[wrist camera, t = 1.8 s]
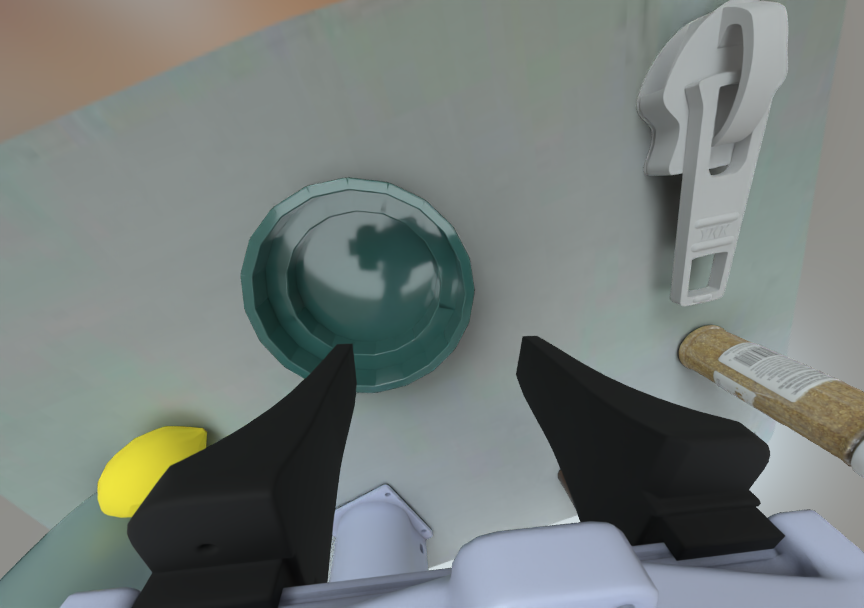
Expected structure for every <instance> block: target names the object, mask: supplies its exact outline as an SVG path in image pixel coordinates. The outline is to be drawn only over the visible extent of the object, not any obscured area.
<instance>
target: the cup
mask: <svg viewBox="0 0 864 608" xmlns="http://www.w3.org/2000/svg"><path fill="white" fill-rule="evenodd" d="M131 518H132V517H127V518H119V517H114V516H109V515H106V514H104V513H103V512H102V511H101V508H100V505H99V502H98V492H96V493H95V494H93V495H92V496H90V497H89V498H88V499H86V500H85V501H84V502H82V503H81V504H80V505H79V506H77V507H76V508H75V509H74V510H73V511H71V512H70V513H69V514H68V515H67V516H66V517H64V518H63V519H62V520H61V521H60V522H59V523H58V524H57V525H56V526H54V527H53V528H52V529H51V530H50V531H49V532H48V533H47V534H46V535H45V536H44V537H43V538H42V539H41V540H40V541H39V542H38V543H37V544H36V545H35V546H34V547H33V548H31V549H30V551H28V552H27V553H26V554H25V556H23V557H22V558H21V559H20V560H19V561H18V562H17V563H16V564H15V566H14V567H12V568H11V569H10V570H9V571H8V572H7V573H6V574H5V575H4V576H3V577H2V578H1V580H0V608H60V607H61V605H62V604H63V603H64V601H65V600H66V599H67V597H68V596H69V595H71V594H73V593H76V592H84V591H93V590H102V589H111V588H120V587H131V588H136V589H139V590H141V591H142V589H143V588H144V586H145V584H146V583H147V581H148V579H149V577H150V576H151V574H152V572H151V570H150V569H149V568H148V566H147V565H146V564H145V562H144V561H143V560H142V558H141V557H140V556H139V554H138V553H137V552H136V550H135V549H134V548H133V546H132V544H131V542H130V540H129V538H128V535H127V524H128V522H129V521H130V519H131Z"/></svg>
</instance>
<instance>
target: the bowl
mask: <svg viewBox="0 0 864 608" xmlns="http://www.w3.org/2000/svg"><path fill="white" fill-rule="evenodd" d="M241 284H242V292H243V301H244V309H245V312H246V314H247V316H248V318H249V320H250V322H251V324H252V326H253V328H254V330H255V332H256V334H257V337H258V339H259V341H260V342H261V343H262V344H263V345H264V346H265V347H266V348H267V349H268V350H269V352H270V353H271V354H272V355H273V356H274V357H275V358H276V359H277V360H278V361H279V362H280V363H281V364H282V365H283V366H284V367H285V368H287V369H289V370H290V371H292V372H294V373H296V374H297V375H299V376H301V377H302V378H304V379H305V378H306V377H307V376H308V375H309V374H310V373H311V372H312V371H313V370H314V369H315V368H316V367H317V366H318V365H319V364H320V363H321V361H322V360H323V359H324V358H325V357H326V356H327V355H328V354H329V352H330V351H331V350H332V349H333V348H334V347H335V346H336V345H337V344H353V353H354V362H355V371H356V380H357V387H356V392H357V393H376V392H377V393H378V392H382V391H386V390H390V389H394V388H398V387H402V386H406V385H409V384H410V383H412V382H414V381H416V380H418V379H419V378H421V377H423V376H425V375H427V374H429V373H430V372H432V371H433V370H435V369H436V368H437V367H438V366H439V365H440V364H441V363H442V362H443V361H444V360H445V359H446V358H447V357H448V356H449V355H450V354H451V353H452V352H453V351H454V350H455V348H456V346H457V345H458V343H459V341H460V339H461V337H462V335H463V333H464V331H465V329H466V328H467V326H468V324H469V321H470V315H471V309H472V304H473V298H474V291H475V289H474V283H473V276H472V270H471V263H470V259H469V256H468V254H467V252H466V250H465V248H464V246H463V244H462V242H461V241H460V239H459V237H458V235H457V233H456V231H455V229H454V227H453V226H452V225H451V224H450V223H449V222H448V221H447V220H446V219H445V218H444V217H443V216H442V215H441V214H440V213H439V212H438V211H437V210H435V209H434V208H433V207H432V206H431V205H430V204H429V203H428V202H427V201H426V200H424V199H423V198H421V197H419V196H417V195H414V194H412V193H410V192H408V191H406V190H404V189H402V188H400V187H398V186H396V185H394V184H391V183H389V182H382V181H374V180H366V179H358V178H350V177H348V178H341V179H337V180H332V181H327V182H323V183H318V184H313V185H309V186H307V187H304V188H302V189H301V190H299V191H298V192H296V193H295V194H293V195H291V196H290V197H288V198H287V199H285V200H284V201H282V202H280V203H279V204H277V205H276V206H274V207H273V208H272V209H271V210H270V212H269V213H268V214H267V216H266V217H265V218H264V220H263V221H262V222H261V224H260V225H259V227H258V228H257V229H256V231H255V232H254V233H253V235H252V236H251V238H250V240H249V243H248V247H247V251H246V255H245V259H244V262H243V266H242V270H241Z"/></svg>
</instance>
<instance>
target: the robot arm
mask: <svg viewBox="0 0 864 608" xmlns="http://www.w3.org/2000/svg"><path fill="white" fill-rule="evenodd" d="M516 376H517V379H518V381H519V384H520V387H521V390H522V392H523V395H524V397H525V399H526V401H527V402H528V404H529V406H530V408H531V410H532V412H533V414H534V416H535V417H536V419H537V421H538V423H539V425H540V427H541V428H542V430H543V432H544V434H545V436H546V438H547V440H548V442H549V444H550V446H551V448H552V450H553V452H554V454H555V457H556V459H557V462H558V464H559V466H560V469H561V471H562V474H563V476H564V479H565V481H566V484H567V487H568V489H569V492H570V494H571V497H572V500H573V502H574V505H575V508H576V511H577V514H578V517H579V519H580V522H579V523H571V524H560V525H552V526H542V527H533V528H524V529H515V530H505V531H497V532H493V533H489V534H486V535H482V536H478V537H476V538H475V539H473V540H471V541H470V542H468V543H467V544H465V545H463V546H462V547H461V549H460V550H459V552H458V554H457V556H456V558H455V559H454V561H453V563H452V568H446V569H438V570H429V571H428V560H427V549H426V540H427V539H429V538H431V537H432V536H433V532H432V530H431V529H430V528H429V527H428V526H427V525H426V524H425V523H424V522H423V521H422V519H421V518H420V517H419V516H418V515H417V514H416V513H415V512H414V511H413V510H412V509H411V508H410V507H409V506H408V505H407V504H406V503H405V502H404V501H403V500H402V499H401V498H400V497H399V496H398V495H397V493H396V492H395V491H394V490H393V489H392V488H391V487H390V486H388V485H382V486H380V487H378V488H376V489H375V490H373V491H371V492H369V493H367V494H365V495H363V496H361V497H359V498H357V499H355V500H353V501H352V502H350V503H348V504H346V505H344V506H342V507H340V508H338V509H336V510H335V506H336V498H337V490H338V482H339V475H340V468H341V462H342V457H343V453H344V449H345V444H346V440H347V436H348V432H349V427H350V423H351V419H352V415H353V410H354V406H355V397H356V387H357V380H356V371H355V362H354V353H353V344H337V345H336V346H335V347H334V348H333V349H332V350H331V351H330V352H329V354H328V355H327V356H326V357H325V358H324V359H323V360H322V361H321V363H320V364H319V365H318V366H317V367H316V368H315V369H314V370H313V371H312V372H311V373H310V374H309V375H308V376H307V377H306V378H305V379H304V380H303V381H302V382H301V383H300V384H299V385H298V386H297V387H296V388H295V389H294V390H293V391H291V392H290V393H289V394H288V395H287V396H286V397H284V398H283V399H282V400H281V401H279V402H278V403H277V404H275V405H274V406H273V407H272V408H270V409H269V410H267V411H266V412H264V413H263V414H261V415H260V416H259V417H257V418H256V419H254V420H253V421H251V422H250V423H248V424H247V425H245V426H244V427H242V428H240V429H239V430H237V431H235V432H234V433H232V434H230V435H229V436H227V437H225V438H223V439H222V440H220V441H218V442H216V443H215V444H213V445H211V446H209V447H207V448H205V449H203V450H201V451H199V452H197V453H195V454H193V455H191V456H189V457H187V458H185V459H183V460H181V461H179V462H177V463H175V464H173V465H171V466H169V468H168V469H167V470H166V471H165V473H164V474H163V475H162V476H161V478H160V479H159V480H158V482H157V483H156V484H155V486H154V487H153V489H152V490H151V491H150V493H149V494H148V495H147V497H146V498H145V500H144V501H143V502H142V504H141V505H140V506H139V508H138V509H137V511H136V512H135V513H134V515H133V516H132V518H131V519H130V521H129V522H128V524H127V535H128V538H129V540H130V542H131V544H132V546H133V548H134V549H135V550H136V552H137V553H138V554H139V556H140V557H141V558H142V560H143V561H144V562H145V564H146V565H147V566H148V568H149V569H150V570H151V572H152V574H151V576H150V577H149V579H148V581H147V583H146V584H145V586H144V588H143V589H142V591H141V590H139V589H136V588H131V587H120V588H111V589H102V590H93V591H84V592H76V593H73V594H71V595H69V596H68V597H67V599H66V600H65V601H64V603H63V604H62V605H61V607H60V608H864V552H863V551H862V550H861V549H859V548H858V547H857V546H856V545H854V544H853V543H852V542H851V541H850V540H849V539H847V538H846V537H845V536H844V535H843V534H842V533H840V532H839V531H838V530H837V529H836V528H834V527H833V526H832V525H831V524H830V523H829V522H827V521H826V520H825V519H824V518H823V517H822V516H820V515H819V514H818V513H817V512H816V511H814V510H810V509H807V510H799V511H790V512H780V513H777V514H774V515H772V516H770V517H768V518H767V517H766V516H765V515H764V514H763V513H762V512H760V510H759V509H757V508H756V506H759V505H760V504H761V503H760V500H759V499H758V498H757V497H756V496H755V495H754V494H753V493H752V492H751V491H749V489H750V487H751V486H752V485H753V483H754V482H755V481H756V479H757V478H758V477H759V475H760V474H761V473H762V471H763V470H764V469H765V467H766V465H767V463H768V462H769V457H770V450H769V447H768V445H767V444H766V443H765V442H764V441H763V440H762V439H760V438H759V437H758V436H757V435H755V434H754V433H753V432H751V431H750V430H749V429H748V428H746V427H745V426H744V425H743V424H741V423H740V422H737V421H734V420H730V419H726V418H722V417H718V416H714V415H711V414H707V413H703V412H699V411H696V410H692V409H689V408H686V407H683V406H680V405H676V404H673V403H670V402H667V401H665V400H662V399H659V398H656V397H654V396H651V395H648V394H646V393H643V392H641V391H638V390H636V389H633V388H631V387H629V386H626V385H624V384H622V383H620V382H618V381H616V380H613V379H611V378H609V377H607V376H605V375H603V374H601V373H599V372H598V371H596V370H594V369H592V368H590V367H588V366H587V365H585V364H583V363H581V362H580V361H578V360H576V359H575V358H573V357H571V356H570V355H568V354H566V353H565V352H563V351H561V350H560V349H558V348H557V347H555V346H553V345H552V344H550V343H548V342H547V341H545V340H543V339H541V338H540V337H538V336H523V338H522V344H521V349H520V355H519V361H518V366H517V372H516ZM332 535H333V536H334V537H336V542H335V549H334V555H333V561H332V567H331V574H330V580H329V583H327V580H328V570H329V560H330V550H331V541H332Z"/></svg>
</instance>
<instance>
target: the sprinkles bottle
mask: <svg viewBox="0 0 864 608" xmlns="http://www.w3.org/2000/svg"><path fill="white" fill-rule="evenodd" d="M679 359H680V361H681V363H682V364H683V365H684V366H686V367H687V368H689V369H693V370H695V371H696V372H698V373H699V374H701V375H703V376H705V377H706V378H708V379H709V380H711V381H713V382H714V383H716V384H717V385H718V386H720V387H721V388H723V389H724V390H726V391H728V392H729V393H731V394H733V395H734V396H736V397H738V398H739V399H741V400H743V401H744V402H746V403H748V404H749V405H751V406H753V407H754V408H756V409H758V410H759V411H761V412H762V413H764V414H766V415H767V416H769V417H771V418H772V419H774V420H776V421H777V422H779V423H781V424H783V425H785V426H787V427H789V428H790V429H792V430H794V431H795V432H797V433H799V434H800V435H802V436H803V437H805V438H807V439H808V440H810V441H811V442H813V443H815V444H817V445H819V446H820V447H821V448H823V449H825V450H826V451H828V452H830V453H831V454H833V455H834V456H836V457H838V458H840V459H841V460H842V461H843V462H844V463H846V464H847V465H848V466H851V467H852V469H853V471H854V472H856V473H857V474H858V475H860V476H861V477H863V478H864V392H863V391H861V390H859V389H857V388H854V387H852V386H850V385H848V384H846V383H845V382H843V381H841V380H838V379H837V378H834V377H832V376H830V375H827V374H825V373H823V372H821V371H818V370H816V369H814V368H812V367H809V366H807V365H805V364H802V363H800V362H798V361H795V360H793V359H791V358H788V357H786V356H784V355H782V354H779V353H777V352H775V351H772V350H770V349H768V348H765V347H763V346H761V345H758V344H756V343H751V342H749V341H747V340H744V339H742V338H740V337H738V336H736V335H733V334H731V333H728V332H726V331H725V330H724V329H723V328H721V327H719V326H715V325H707V326H703V327H700V328H698V329H696V330H695V331H693V332H691V333H690V334H689V335H688V336H687V337H686V338H685V339H684V341H683V342H682V344H681V345H680V349H679Z"/></svg>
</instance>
